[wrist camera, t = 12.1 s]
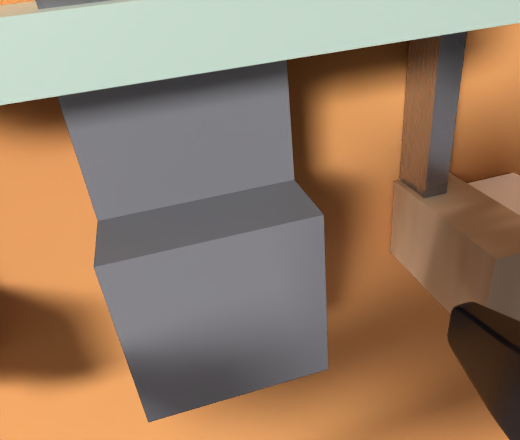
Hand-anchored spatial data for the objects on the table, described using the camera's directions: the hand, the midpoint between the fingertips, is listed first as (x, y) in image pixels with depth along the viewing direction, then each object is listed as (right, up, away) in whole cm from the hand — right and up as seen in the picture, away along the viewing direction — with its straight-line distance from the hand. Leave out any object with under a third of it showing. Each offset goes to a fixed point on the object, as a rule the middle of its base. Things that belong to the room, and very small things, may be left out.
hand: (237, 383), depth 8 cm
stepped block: (-2, +4, +5) cm, 7 cm away
